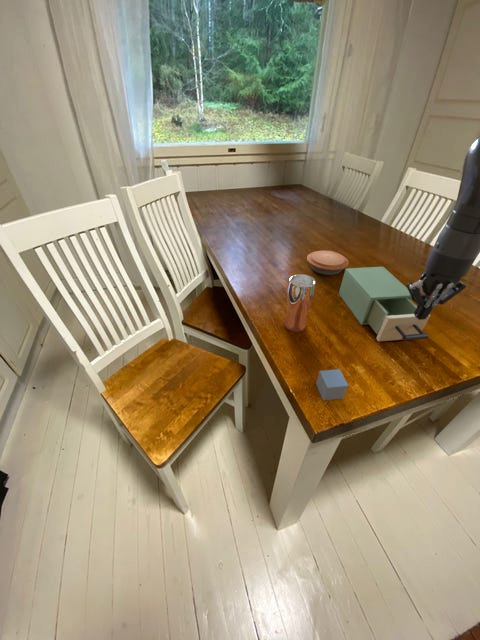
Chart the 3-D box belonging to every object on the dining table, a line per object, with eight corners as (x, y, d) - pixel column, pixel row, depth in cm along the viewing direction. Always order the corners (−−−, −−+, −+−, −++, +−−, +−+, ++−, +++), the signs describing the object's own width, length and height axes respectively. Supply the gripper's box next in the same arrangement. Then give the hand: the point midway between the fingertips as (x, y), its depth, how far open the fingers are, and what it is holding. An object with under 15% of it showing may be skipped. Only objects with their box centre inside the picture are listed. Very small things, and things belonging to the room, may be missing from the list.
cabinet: (401, 322, 81) (414, 295, 75) (361, 325, 79) (371, 297, 73) (373, 291, 93) (383, 266, 87) (338, 293, 92) (345, 268, 86)
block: (343, 398, 60) (348, 385, 57) (322, 400, 59) (327, 387, 56) (334, 382, 63) (339, 368, 60) (315, 383, 63) (319, 370, 60)
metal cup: (279, 319, 81) (284, 275, 72) (300, 316, 82) (308, 272, 73) (288, 334, 76) (295, 289, 66) (311, 330, 77) (321, 285, 68)
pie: (348, 280, 99) (351, 267, 96) (305, 275, 102) (307, 263, 98) (344, 261, 111) (347, 249, 108) (305, 257, 113) (307, 246, 110)
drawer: (429, 351, 70) (444, 328, 65) (388, 354, 69) (399, 331, 64) (387, 305, 86) (396, 283, 81) (352, 307, 85) (359, 285, 80)
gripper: (437, 259, 51) (402, 329, 62) (501, 256, 52) (456, 325, 63) (413, 243, 57) (385, 310, 68) (470, 240, 58) (434, 306, 69)
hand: (419, 317), depth 65 cm, fingers closed
